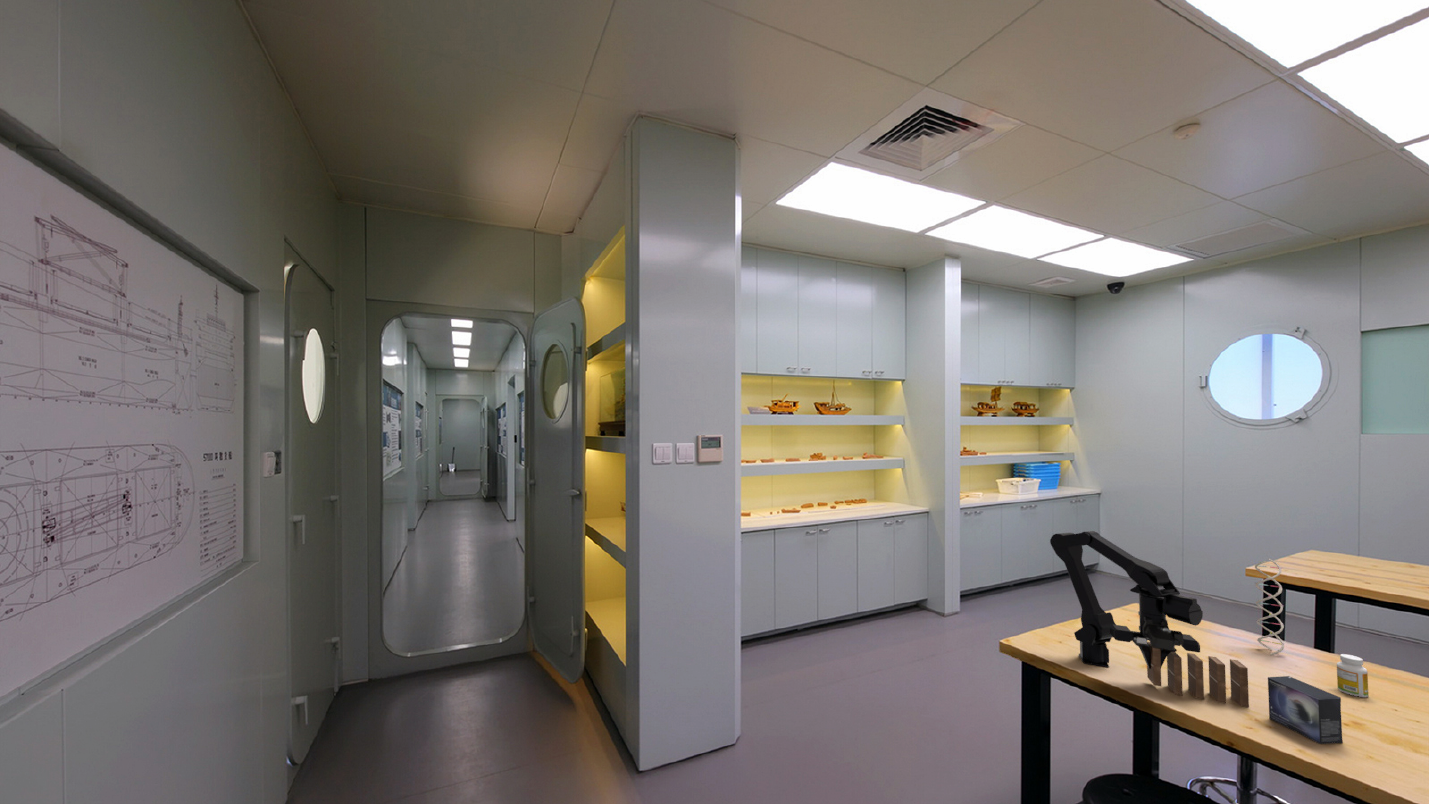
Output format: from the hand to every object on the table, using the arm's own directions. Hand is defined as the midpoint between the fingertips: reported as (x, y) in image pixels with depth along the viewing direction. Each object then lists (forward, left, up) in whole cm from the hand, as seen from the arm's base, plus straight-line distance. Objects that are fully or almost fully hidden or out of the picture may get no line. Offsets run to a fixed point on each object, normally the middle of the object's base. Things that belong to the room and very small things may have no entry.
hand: (1153, 668), depth 145 cm
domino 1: (0, 0, -4) cm, 4 cm away
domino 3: (+9, 0, -5) cm, 10 cm away
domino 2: (+5, 0, -5) cm, 7 cm away
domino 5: (+18, 0, -5) cm, 19 cm away
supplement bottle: (+50, +20, -5) cm, 54 cm away
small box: (+26, -11, -5) cm, 28 cm away
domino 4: (+14, 0, -5) cm, 14 cm away
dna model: (+44, +45, -5) cm, 63 cm away
